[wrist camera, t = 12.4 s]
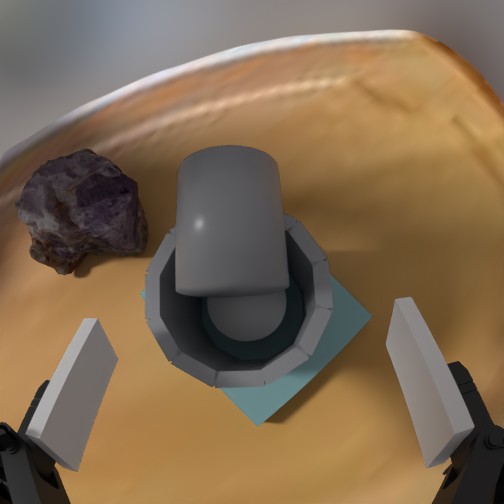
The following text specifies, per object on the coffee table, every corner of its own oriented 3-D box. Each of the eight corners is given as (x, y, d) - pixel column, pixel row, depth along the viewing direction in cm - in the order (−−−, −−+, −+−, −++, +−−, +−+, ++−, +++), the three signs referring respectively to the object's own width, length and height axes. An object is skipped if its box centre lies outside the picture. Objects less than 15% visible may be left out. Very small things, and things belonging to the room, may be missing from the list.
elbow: (317, 364, 22) (352, 390, 11) (194, 370, 23) (118, 395, 11) (305, 227, 25) (321, 137, 14) (191, 237, 26) (125, 160, 14)
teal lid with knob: (146, 296, 27) (116, 285, 21) (248, 201, 28) (241, 170, 23) (259, 421, 23) (252, 442, 18) (367, 318, 24) (389, 312, 19)
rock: (151, 276, 28) (155, 176, 31) (122, 253, 20) (135, 127, 23) (45, 277, 27) (56, 185, 30) (-6, 257, 19) (17, 146, 22)
